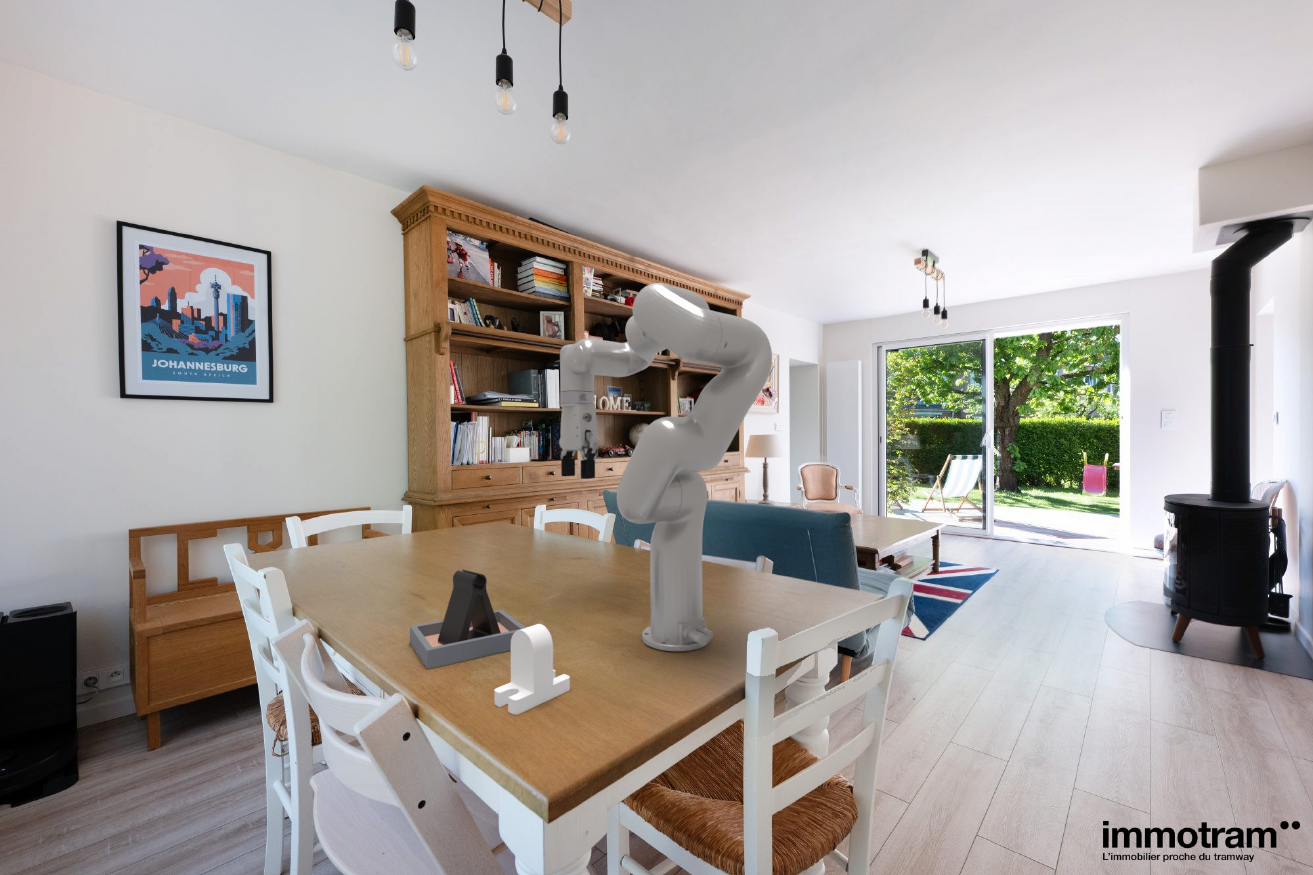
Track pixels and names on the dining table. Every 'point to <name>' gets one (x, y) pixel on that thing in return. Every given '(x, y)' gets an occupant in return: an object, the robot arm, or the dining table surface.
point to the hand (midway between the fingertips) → (577, 477)
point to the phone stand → (468, 610)
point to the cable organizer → (531, 672)
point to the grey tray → (461, 642)
